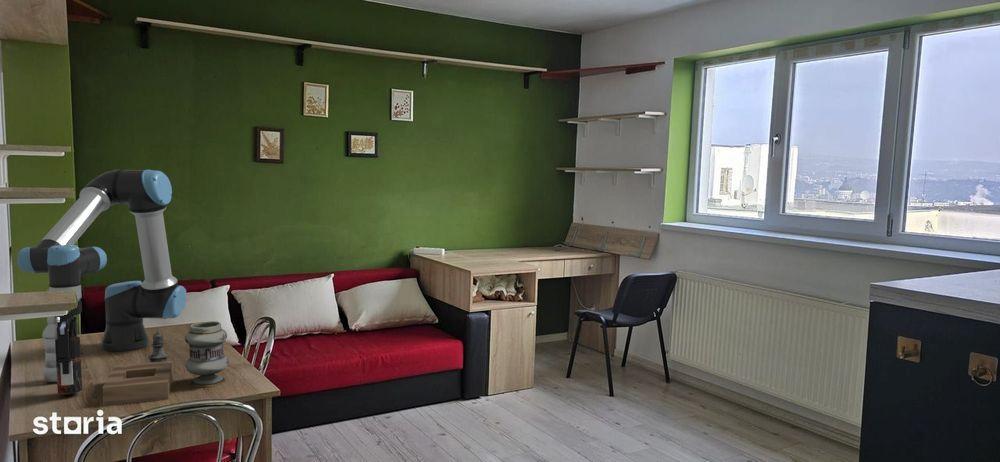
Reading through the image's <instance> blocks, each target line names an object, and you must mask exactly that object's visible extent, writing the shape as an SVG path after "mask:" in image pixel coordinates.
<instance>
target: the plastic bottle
mask: <svg viewBox="0 0 1000 462" xmlns="http://www.w3.org/2000/svg"><path fill="white" fill-rule="evenodd" d="M59 321H60V318H59V317H47V316H46V324H47V325H46V326H45V328H44V329H43V331H42V335H41V337H42V339H43V345H44V353H45V354H44V355H45V359H44V368H43V372H42V373H43V374H42V375H43V378H44V381H46V382H48V383H57V369H56V350H55V340H56V339H58V336H57V330H56V329H57V323H58V322H59Z"/></svg>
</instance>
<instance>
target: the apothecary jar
mask: <svg viewBox="0 0 1000 462" xmlns="http://www.w3.org/2000/svg"><path fill="white" fill-rule="evenodd" d="M227 339H228V333H227V331H226V330H225V329H223V327H222V324H221V322H220V321H214V320H210V321H209V320H208V321H199V322H195V323H192V324H191V325H190V328H189V331H188V332H187V333H186V335H185V336H184V341H185V343H187V344H188V346H189V348H188V349H189V359H187V361H186V362H185V369H186V371H187V372H189V373H190V374H192V375H195V376H197V377H195V378H194V377H193V378H192V379H191V380H190V381H189V384H190V385H192V386H193V387H195V388H196V387H197V388H198V387H199V388H205V387H208V388H209V387H214V386H218V384H219V385H221V384H222V383H223V384H224V382H225V381H226V378H225V377H224V376H222V375H218V374H220V373H221V372H222V371H224V370H225V369H226V368H227V367H229V366H228V365H229V364H230V363H229V362H230V361H229V358H228V357H227V355H225V354H224V353H225V351H224V350H225V349H224V342H225V341H226V340H227Z"/></svg>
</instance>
